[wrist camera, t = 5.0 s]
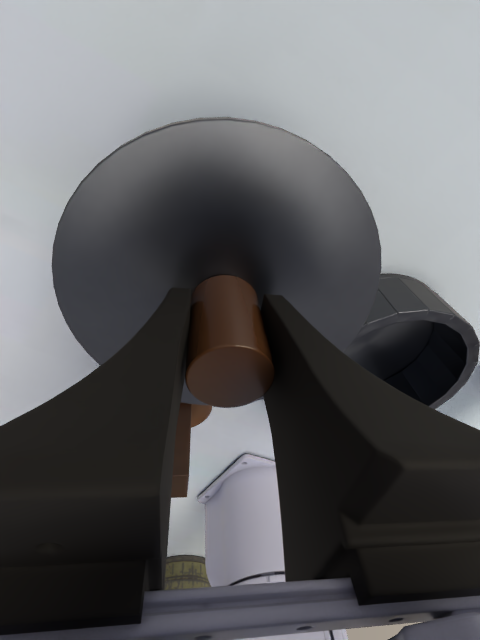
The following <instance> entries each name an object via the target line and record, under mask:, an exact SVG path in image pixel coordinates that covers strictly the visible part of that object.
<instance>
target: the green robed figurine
mask: <svg viewBox="0 0 480 640" xmlns="http://www.w3.org/2000/svg"><path fill="white" fill-rule="evenodd" d="M202 587H211V585H210V583H209V580H208V577H207V573H206V565H205V558H202V557H198V556H186V555H183V556H172V557H168V558H167V559H166V574H165V588H164V590H173V589H188V588H202Z"/></svg>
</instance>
